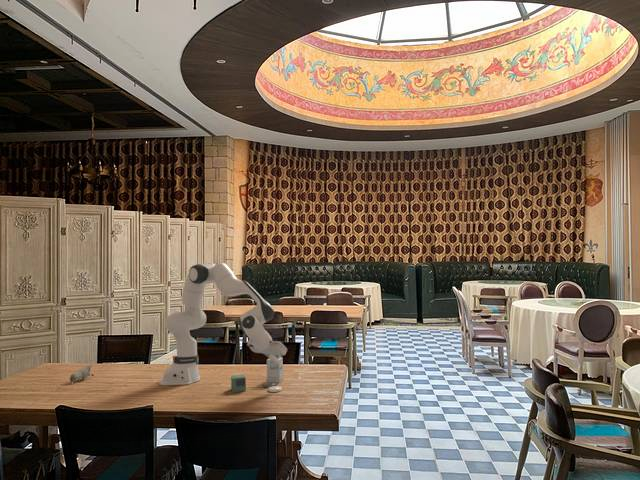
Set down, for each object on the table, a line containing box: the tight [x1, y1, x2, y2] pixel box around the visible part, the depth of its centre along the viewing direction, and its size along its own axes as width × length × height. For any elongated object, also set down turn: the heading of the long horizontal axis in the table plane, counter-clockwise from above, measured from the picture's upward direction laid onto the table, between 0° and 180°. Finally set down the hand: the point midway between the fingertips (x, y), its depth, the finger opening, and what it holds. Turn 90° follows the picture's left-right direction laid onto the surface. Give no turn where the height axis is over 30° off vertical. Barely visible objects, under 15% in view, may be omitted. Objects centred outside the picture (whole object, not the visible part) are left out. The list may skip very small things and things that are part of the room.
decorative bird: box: [69, 364, 94, 384], centre depth 291 cm, size 5×16×7 cm, turn 164°
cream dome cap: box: [267, 385, 283, 393], centre depth 261 cm, size 7×7×1 cm
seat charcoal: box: [263, 381, 278, 389], centre depth 270 cm, size 7×7×1 cm
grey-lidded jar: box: [268, 354, 279, 370], centre depth 261 cm, size 5×5×11 cm
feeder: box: [230, 374, 247, 393], centre depth 263 cm, size 7×7×7 cm
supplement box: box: [266, 356, 284, 384], centre depth 279 cm, size 7×7×13 cm
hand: (274, 356), depth 262 cm, fingers closed on grey-lidded jar, 5 cm apart
